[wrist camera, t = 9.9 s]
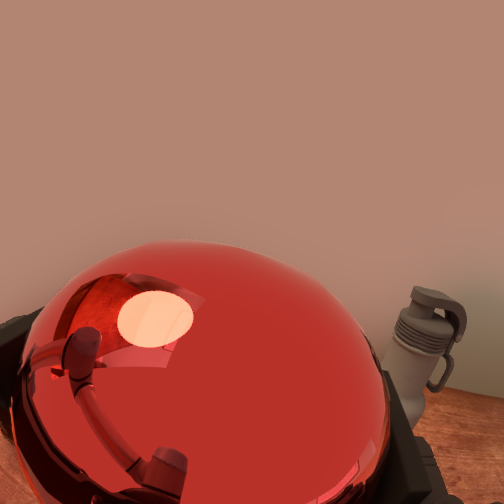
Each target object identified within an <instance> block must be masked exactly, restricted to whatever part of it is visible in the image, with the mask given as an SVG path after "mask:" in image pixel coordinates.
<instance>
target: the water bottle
mask: <svg viewBox="0 0 504 504" xmlns="http://www.w3.org/2000/svg"><path fill="white" fill-rule="evenodd" d="M410 297H411V298H412V301H411V304H410V306H409V307H407V308H404V309H402V310H401V313H400V316H399V318H398V320H397V323H396V325H395V327H394V328H395V329H394V330H393V338H392V340H391V342H390V345H389V347H388V350H387V351H386V354H385V356H384V358H383V360H382V363H381V368H382V370H385V371H388V372H389V374H390V377H391V379H392V381H393V384H394V386H395V389H396V391H397V394H398V396H399V399H400V401H401V404H402V406H403V409H404V411H405V414H406V416H407V419H408V421H409V424H410V427H411V429H412V430H413V428H414V427H415V425H416V424H417V422H418V421H419V419H420V417H421V416H422V414H423V412H424V409H425V405H426V404H425V397H424V394H423V392H422V391H423V389H424V387H425V386H427V388H428V389H429V390H430V391H431V392H433V393H437V392H440V391H441V390H442V388H443V387H444V385H445V383H446V381H447V379H448V378H449V376H450V374H451V372H452V370H453V367H454V360H453V358H452V357H451V356H450V355H449V352H450V350H451V348H452V346H453V344H454V342H456V343H458V342H460V340H461V339H462V336H463V334H464V332H465V329H466V323H467V316H466V312H465V310H464V308H463V307H462V305H460V304H459V303H458V302H456V301H455V300H453V299H451V298H450V297H449V296H447V295H445V294H444V293H442V292H439V291H435V290H431V289H427V288H423V287H418V286H414V287H413V290H412V293H411V296H410ZM435 308H439V309H444V311H445V318H443V317H442V316H440V315H439V314H437V313H435V312H434V310H435ZM440 356H443V357H444V358H445V359H446V363H447V367H446V370H445V372H444V374H443V376H442V378H441V380H440V382H439V384H438V385H437V386H434V385H433V384H432V383H431V382H430V381H429V378H430V376H431V374H432V372H433V370H434V368H435V367H436V365H437V363H438V360H439V358H440Z"/></svg>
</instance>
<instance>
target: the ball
mask: <svg viewBox="0 0 504 504" xmlns="http://www.w3.org/2000/svg"><path fill="white" fill-rule="evenodd" d="M9 409H10V420H11V426H12V432H13V437H14V442H15V447H16V451H17V456H18V460H19V464H20V467H21V470H22V473H23V475H24V478H25V480H26V482H27V483H28V485H29V487H30V488H31V490H32V491H33V493H34V495H35V496H36V498H37V499H38V501H39V502H40V504H370V503H371V501H372V499H373V497H374V495H375V494H376V492H377V490H378V488H379V486H380V484H381V482H382V479H383V477H384V474H385V471H386V467H387V463H388V458H389V447H390V434H391V415H392V414H391V400H390V395H389V390H388V386H387V382H386V379H385V377H384V374H383V371H382V368H381V365H380V363H379V360H378V358H377V355H376V353H375V350H374V348H373V346H372V344H371V342H370V340H369V338H368V336H367V335H366V333H365V331H364V330H363V328H362V327H361V326H360V324H359V323H358V322H357V320H356V319H355V318H354V317H353V315H352V314H351V313H350V311H349V310H348V309H347V308H346V307H345V306H344V305H343V303H342V302H341V301H340V300H339V299H338V298H337V297H336V296H335V295H334V294H332V293H331V292H330V291H329V290H328V289H327V288H325V287H324V286H323V285H322V284H321V283H319V282H318V281H317V280H316V279H314V278H313V277H312V276H311V275H309V274H308V273H307V272H305V271H303V270H301V269H299V268H297V267H296V266H293V265H291V264H289V263H287V262H284V261H282V260H280V259H277V258H274V257H272V256H269V255H266V254H263V253H259V252H256V251H252V250H249V249H245V248H242V247H237V246H233V245H229V244H223V243H218V242H212V241H204V240H195V239H164V240H159V241H154V242H150V243H146V244H142V245H139V246H135V247H131V248H127V249H123V250H121V251H119V252H117V253H114V254H113V255H110V256H109V257H106V258H104V259H102V260H100V261H99V262H97V263H95V264H93V265H91V266H89V267H87V268H86V269H84V270H83V271H81V272H80V273H79V274H77V275H76V276H74V277H73V278H72V279H70V280H69V281H68V282H67V283H66V284H65V285H64V286H63V287H62V288H61V289H60V290H59V291H58V292H57V293H56V294H55V295H54V297H53V298H52V299H51V300H50V301H49V303H48V304H47V305H46V306H45V307H44V308H43V310H42V311H41V312H40V314H39V315H38V316H37V318H36V319H35V320H34V322H33V323H32V325H31V327H30V329H29V331H28V332H27V334H26V336H25V339H24V341H23V344H22V347H21V349H20V353H19V357H18V360H17V364H16V368H15V372H14V377H13V381H12V386H11V391H10V403H9Z"/></svg>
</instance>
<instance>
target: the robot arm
mask: <svg viewBox="0 0 504 504" xmlns="http://www.w3.org/2000/svg"><path fill="white" fill-rule="evenodd" d="M43 308H44V307H43ZM43 308H41V309H38V310H37V311H35V312H33V313H31V314H29V315H23V316H18V317H14V318H12V319H10V320H8V321H6V323H2V324H0V406H1V407H3V408H4V409H5V410H6V411H8V412H9V413H10V409H9V403H10V391H11V386H12V381H13V377H14V372H15V368H16V364H17V360H18V357H19V353H20V349H21V347H22V344H23V341H24V339H25V336H26V334H27V332H28V331H29V329H30V327H31V325H32V323H33V322H34V320H35V319H36V318H37V316H38V315H39V314H40V312H41V311H42V310H43ZM382 371H383V374H384V377H385V379H386V382H387V386H388V390H389V395H390V400H391V414H392V415H391V434H390V447H389V458H388V463H387V467H386V471H385V474H384V477H383V479H382V482H381V484H380V486H379V488H378V490H377V492H376V494H375V495H374V497H373V499H372V501H371V503H370V504H464V503H463V502H462V500H460V499H459V498H457V497H456V496H453V495H448V492H447V490H446V487H445V484H444V481H443V478H442V476H441V473H440V470H439V468H438V466H437V462H436V460H435V458H434V455H433V452H432V450H431V447H430V445H429V444H428V443H427V442H426V441H425V440H424V438H423V437H418V436H414V435H413V432H412V429H411V427H410V424H409V421H408V419H407V416H406V414H405V411H404V409H403V406H402V404H401V401H400V399H399V396H398V394H397V391H396V389H395V386H394V384H393V381H392V379H391V377H390V374H389V372H388V371H385V370H382ZM491 504H502V503H500V502H493V503H491Z"/></svg>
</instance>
